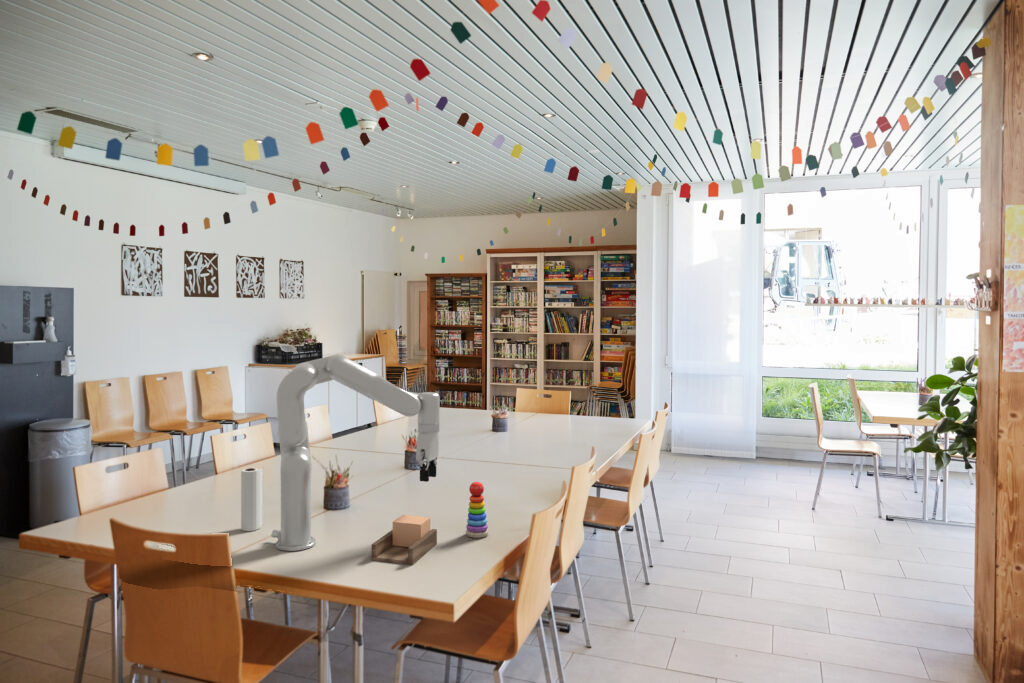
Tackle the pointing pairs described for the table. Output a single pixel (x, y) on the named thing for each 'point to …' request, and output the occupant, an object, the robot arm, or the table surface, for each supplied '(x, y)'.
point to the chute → (402, 549)
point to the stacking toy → (476, 513)
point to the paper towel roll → (252, 499)
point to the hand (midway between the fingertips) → (428, 478)
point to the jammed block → (409, 530)
